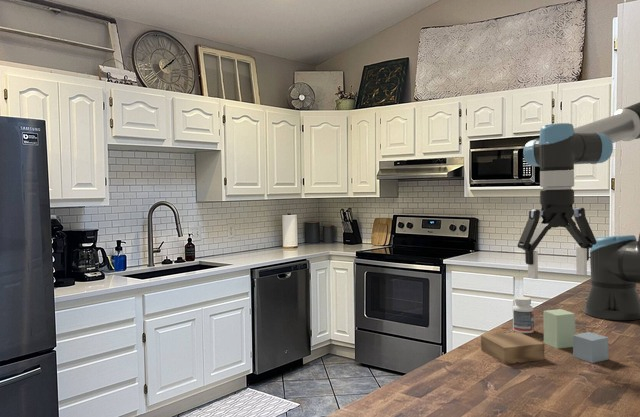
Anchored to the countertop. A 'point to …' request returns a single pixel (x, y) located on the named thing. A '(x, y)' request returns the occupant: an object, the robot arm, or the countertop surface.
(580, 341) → the slate cube
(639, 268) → the robot arm
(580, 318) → the countertop surface
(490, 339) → the walnut slab
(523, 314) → the pill bottle
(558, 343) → the sage block
